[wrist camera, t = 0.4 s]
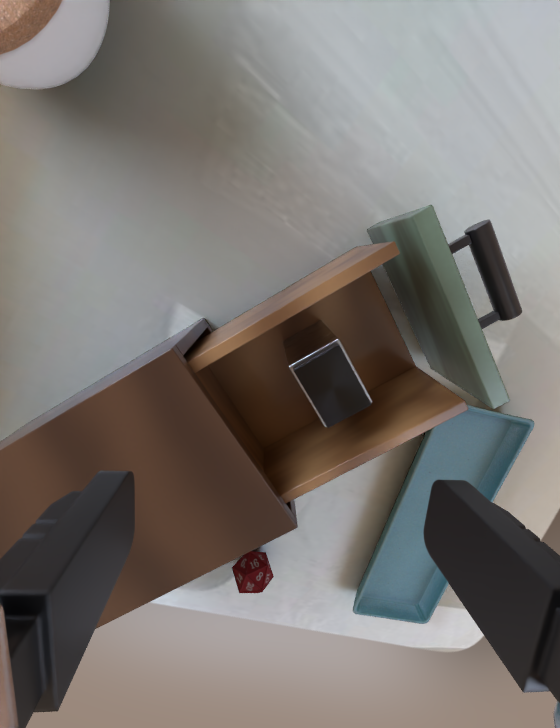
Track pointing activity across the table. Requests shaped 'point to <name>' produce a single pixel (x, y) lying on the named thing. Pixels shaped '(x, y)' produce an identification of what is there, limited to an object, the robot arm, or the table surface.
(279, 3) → the table surface
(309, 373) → the brushed metal box
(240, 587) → the dice
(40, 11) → the lidded bowl
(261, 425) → the drawer
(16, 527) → the cabinet
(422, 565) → the shallow long dish
